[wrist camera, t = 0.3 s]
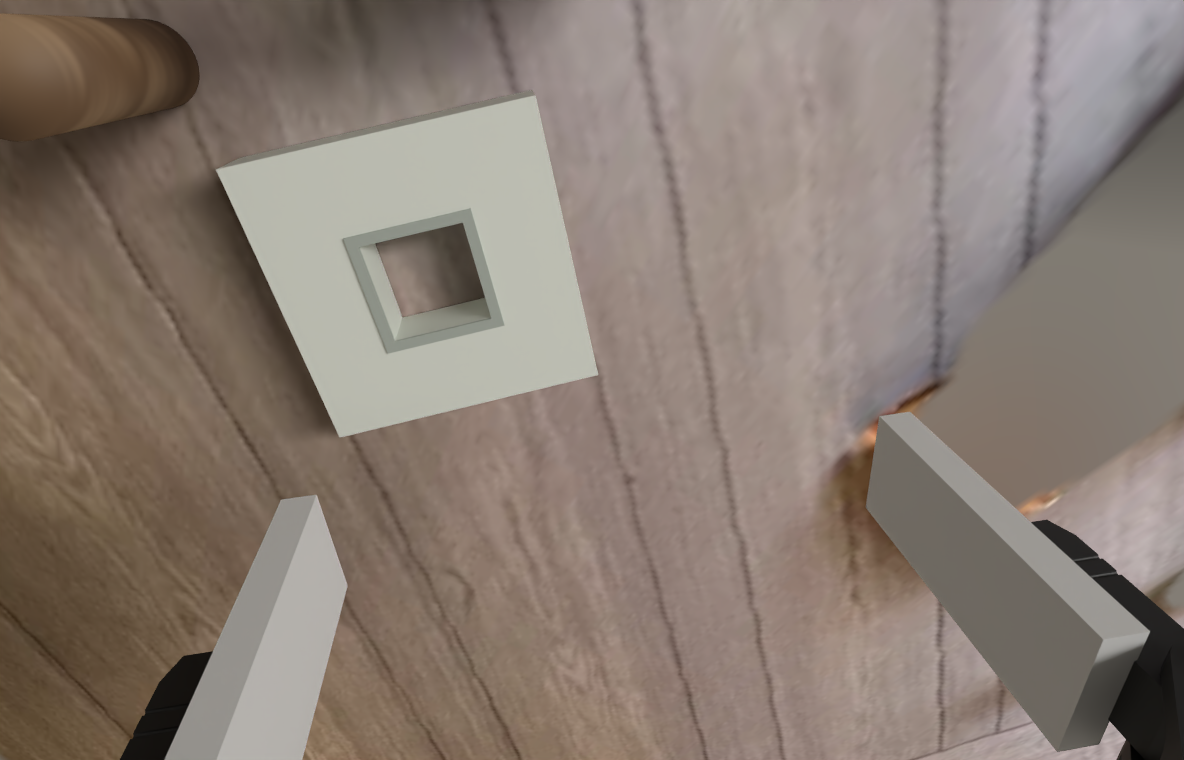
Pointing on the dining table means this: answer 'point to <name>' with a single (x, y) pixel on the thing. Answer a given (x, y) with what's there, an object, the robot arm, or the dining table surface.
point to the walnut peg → (87, 72)
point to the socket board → (405, 207)
